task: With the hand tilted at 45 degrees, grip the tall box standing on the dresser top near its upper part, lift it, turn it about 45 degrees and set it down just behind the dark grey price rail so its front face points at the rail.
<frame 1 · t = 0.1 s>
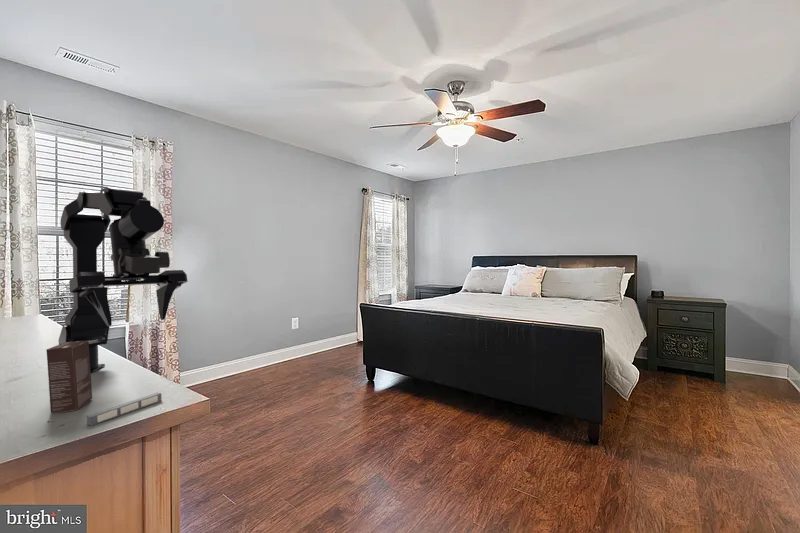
hand: (137, 322, 74), 15 cm above the table, tool pointing down, fingers open, 9 cm apart
box: (71, 407, 71), on the table
price rail: (127, 411, 68), on the table
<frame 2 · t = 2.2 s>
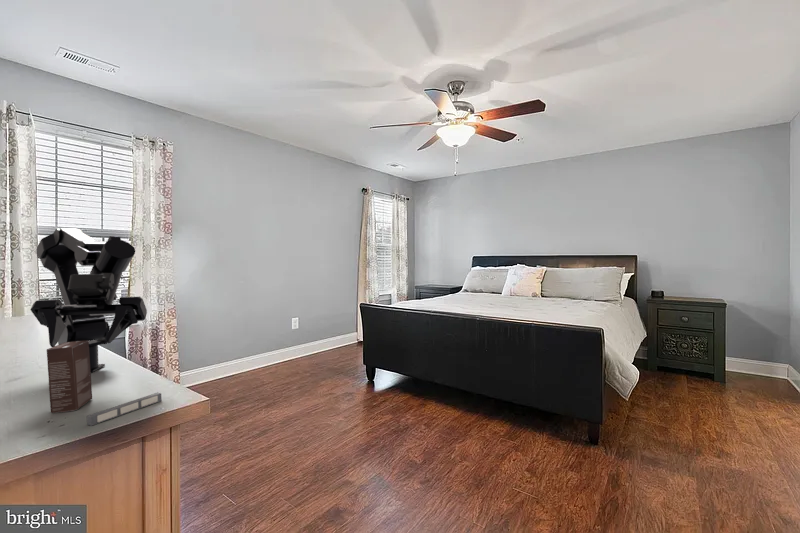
hand: (80, 343, 75), 11 cm above the table, tool tilted 45°, fingers open, 9 cm apart
nothing on the table moved.
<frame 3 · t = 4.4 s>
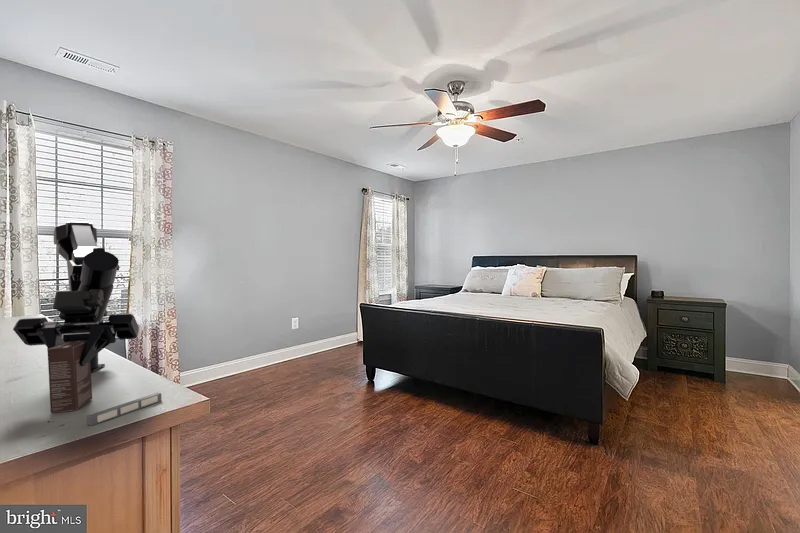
hand: (66, 366, 70), 8 cm above the table, tool tilted 45°, fingers closed on box, 4 cm apart
box: (71, 407, 71), on the table, touching gripper
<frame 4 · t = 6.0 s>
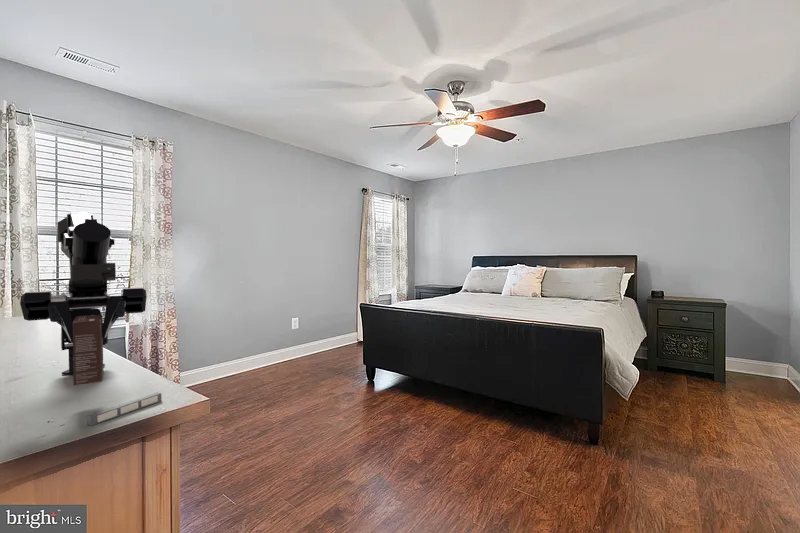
hand: (88, 339, 70), 13 cm above the table, tool tilted 40°, fingers closed on box, 4 cm apart
box: (87, 380, 71), point 5 cm above the table, touching gripper
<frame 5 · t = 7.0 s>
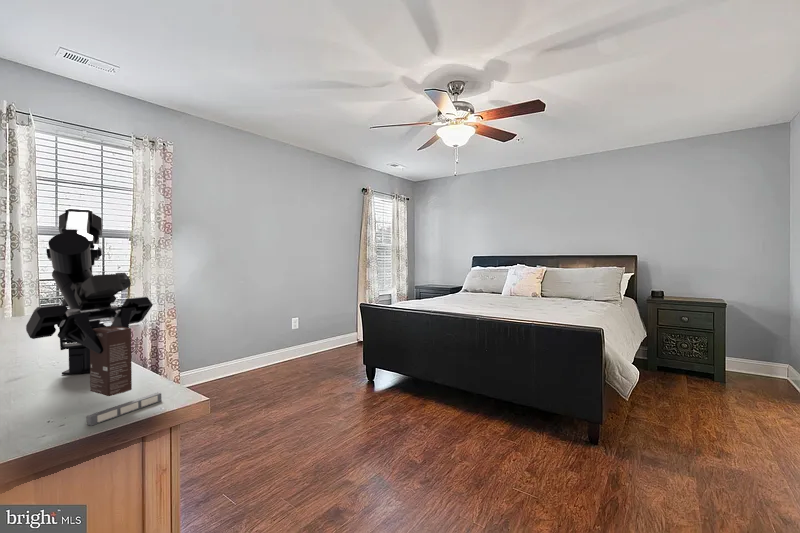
hand: (115, 349, 70), 11 cm above the table, tool tilted 45°, fingers closed on box, 4 cm apart
box: (110, 392, 70), point 3 cm above the table, touching gripper
when the fingers open (9 cm above the table, at t = 7.7 s): box drops 1 cm, on the table.
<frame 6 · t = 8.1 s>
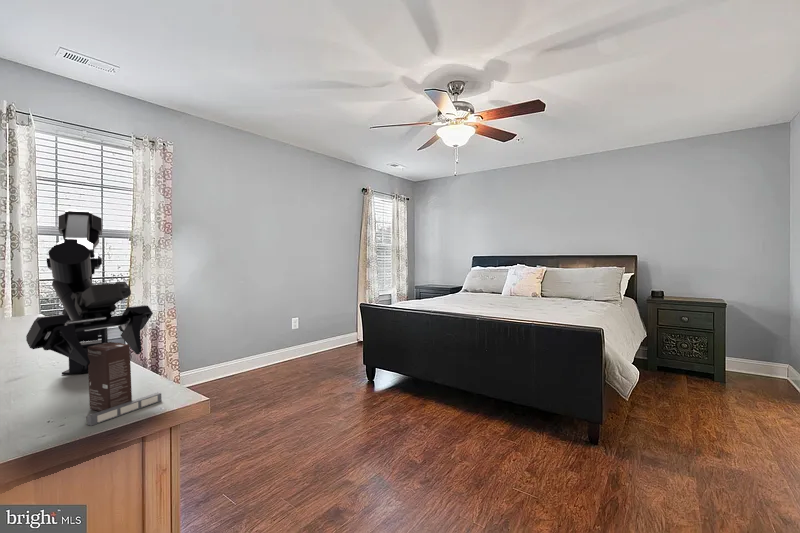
hand: (115, 358, 69), 10 cm above the table, tool tilted 45°, fingers open, 8 cm apart
box: (110, 409, 70), on the table
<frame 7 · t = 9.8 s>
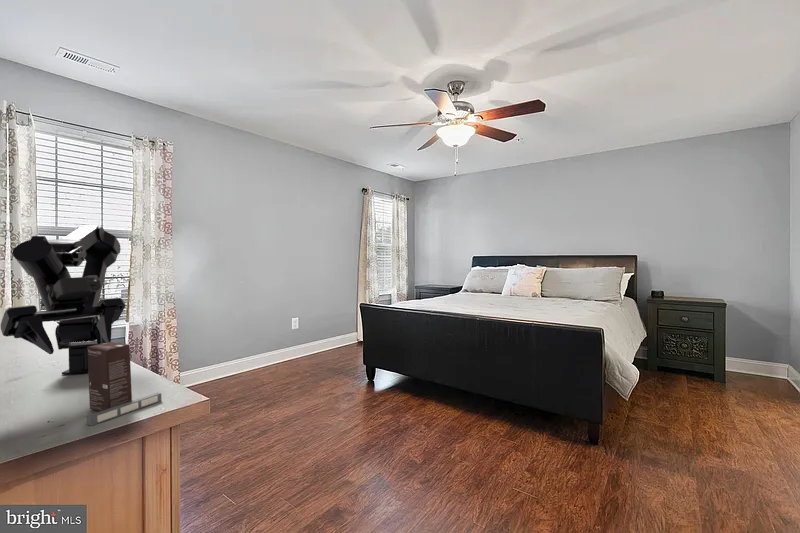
hand: (82, 347, 74), 11 cm above the table, tool tilted 45°, fingers open, 9 cm apart
nothing on the table moved.
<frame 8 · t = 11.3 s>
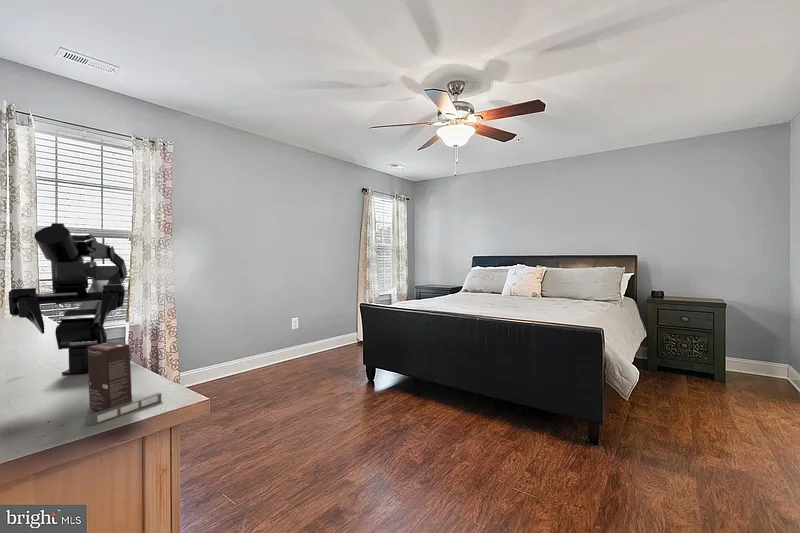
hand: (73, 329, 78), 14 cm above the table, tool tilted 45°, fingers open, 9 cm apart
nothing on the table moved.
at the end: box 0.2 cm from the target spot, on the table; box tilted 0°; the gripper is holding nothing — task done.
